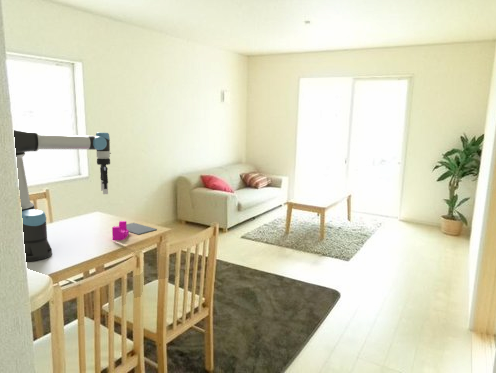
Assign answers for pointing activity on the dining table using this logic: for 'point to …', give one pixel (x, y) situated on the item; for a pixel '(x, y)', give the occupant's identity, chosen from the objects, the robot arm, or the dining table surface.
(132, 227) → the pad
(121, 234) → the magenta bearing cap
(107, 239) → the dining table surface
